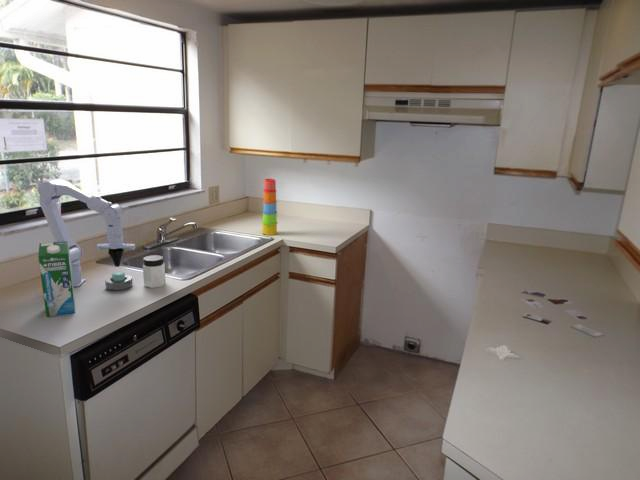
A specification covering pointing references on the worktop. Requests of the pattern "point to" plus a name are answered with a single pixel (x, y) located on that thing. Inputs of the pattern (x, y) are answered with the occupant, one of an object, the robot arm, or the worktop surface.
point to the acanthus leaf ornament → (502, 352)
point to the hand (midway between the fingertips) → (117, 265)
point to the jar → (154, 271)
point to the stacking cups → (269, 208)
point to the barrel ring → (118, 284)
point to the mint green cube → (118, 276)
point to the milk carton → (56, 278)
